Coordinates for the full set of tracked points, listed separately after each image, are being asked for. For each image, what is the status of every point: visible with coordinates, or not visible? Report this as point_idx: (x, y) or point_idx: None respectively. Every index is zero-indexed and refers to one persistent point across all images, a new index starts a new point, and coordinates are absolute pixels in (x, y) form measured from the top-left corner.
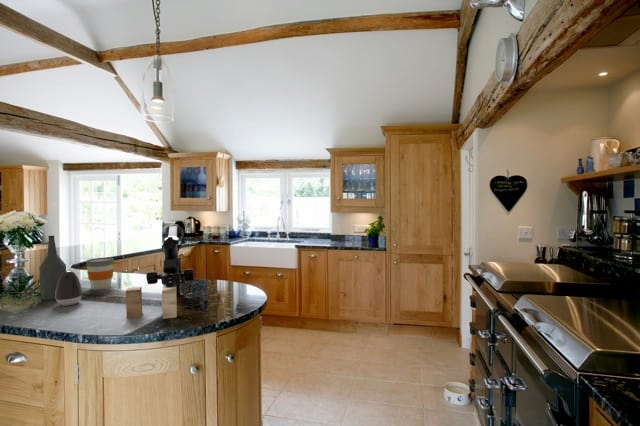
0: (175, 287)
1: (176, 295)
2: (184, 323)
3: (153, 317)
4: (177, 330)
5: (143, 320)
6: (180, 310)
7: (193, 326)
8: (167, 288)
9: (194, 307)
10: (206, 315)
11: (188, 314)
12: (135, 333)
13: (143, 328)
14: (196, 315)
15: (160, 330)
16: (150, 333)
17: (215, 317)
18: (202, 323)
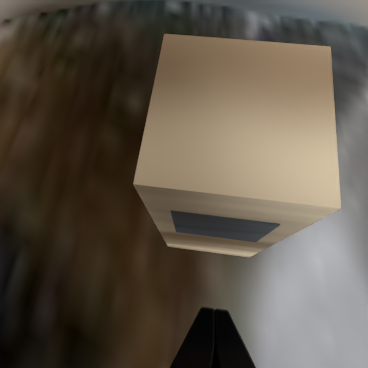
0: (148, 155)
1: (152, 217)
2: (153, 67)
3: (310, 231)
4: (190, 9)
5: (362, 201)
6: (138, 303)
7: (124, 22)
8: (266, 152)
9: (34, 330)
10: (28, 128)
11: (108, 189)
12: (357, 42)
13: (335, 82)
14: (73, 151)
15: (256, 33)
16: (294, 20)
17: (4, 82)
18: (82, 38)
